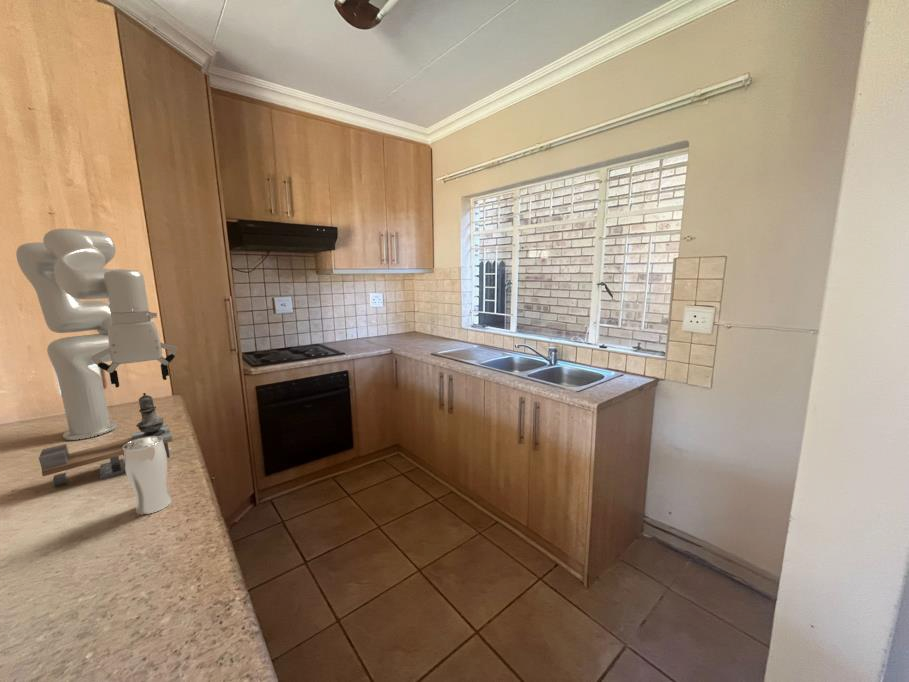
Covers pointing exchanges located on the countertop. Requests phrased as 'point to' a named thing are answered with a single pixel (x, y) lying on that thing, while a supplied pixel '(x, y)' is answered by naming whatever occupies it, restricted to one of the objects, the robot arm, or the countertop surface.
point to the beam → (86, 454)
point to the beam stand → (102, 470)
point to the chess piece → (149, 418)
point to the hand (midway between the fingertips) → (141, 382)
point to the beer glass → (147, 473)
